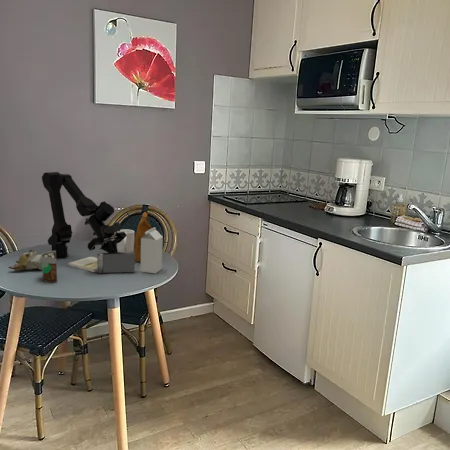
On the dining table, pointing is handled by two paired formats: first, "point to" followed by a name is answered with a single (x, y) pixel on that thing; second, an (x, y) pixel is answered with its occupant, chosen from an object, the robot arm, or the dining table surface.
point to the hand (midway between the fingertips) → (117, 256)
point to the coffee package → (140, 236)
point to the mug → (126, 242)
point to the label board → (85, 264)
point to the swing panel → (115, 262)
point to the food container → (49, 266)
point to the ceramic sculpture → (28, 261)
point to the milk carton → (151, 251)
